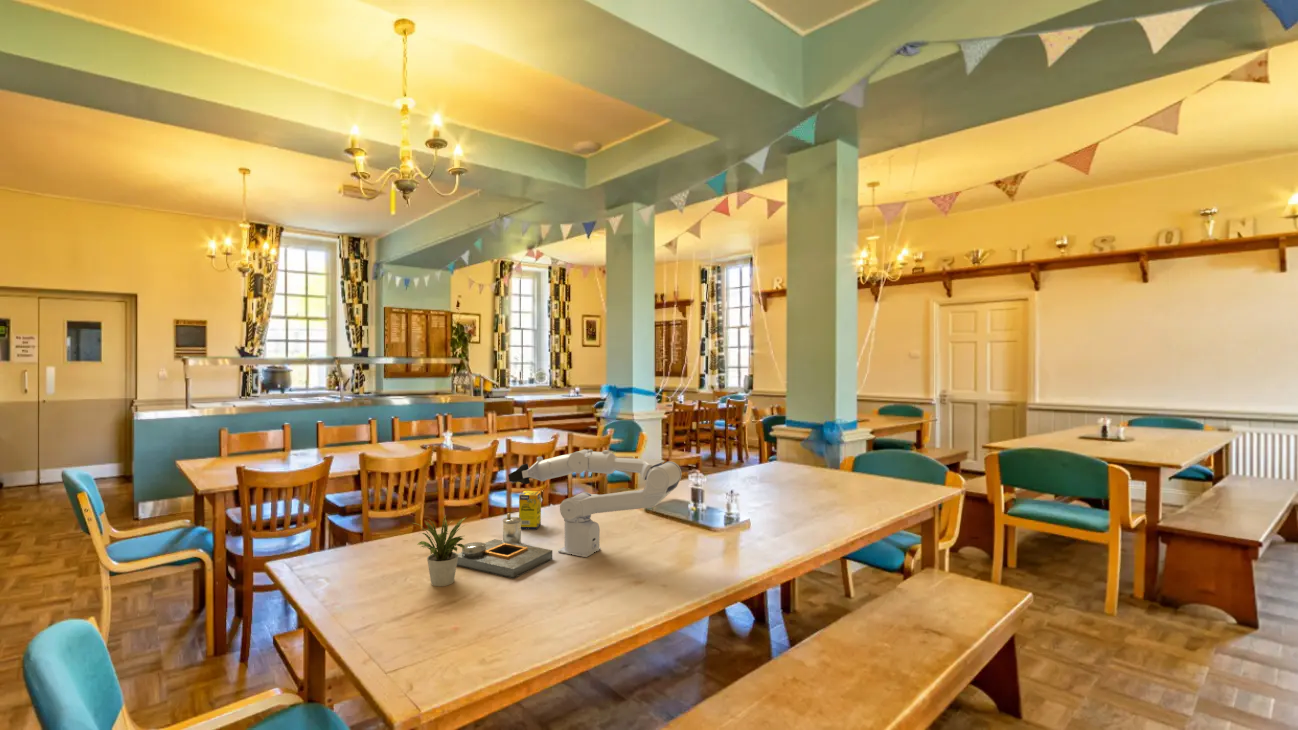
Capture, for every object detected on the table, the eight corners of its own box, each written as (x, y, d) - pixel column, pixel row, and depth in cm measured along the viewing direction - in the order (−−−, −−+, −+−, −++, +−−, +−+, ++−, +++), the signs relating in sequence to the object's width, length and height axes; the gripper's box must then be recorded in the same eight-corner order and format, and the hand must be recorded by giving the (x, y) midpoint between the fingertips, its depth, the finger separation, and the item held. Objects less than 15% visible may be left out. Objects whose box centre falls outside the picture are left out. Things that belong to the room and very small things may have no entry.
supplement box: (537, 529, 185) (537, 495, 184) (518, 529, 185) (518, 494, 185) (541, 524, 191) (541, 490, 190) (522, 524, 191) (523, 490, 191)
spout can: (524, 542, 172) (525, 513, 172) (513, 547, 167) (513, 517, 167) (510, 539, 174) (511, 511, 174) (498, 544, 170) (499, 515, 169)
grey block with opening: (552, 559, 158) (552, 542, 158) (513, 578, 144) (513, 560, 144) (494, 547, 167) (494, 532, 167) (452, 564, 153) (452, 548, 153)
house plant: (400, 597, 132) (401, 525, 131) (408, 575, 145) (409, 509, 145) (467, 592, 136) (467, 521, 135) (469, 570, 149) (469, 506, 149)
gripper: (566, 451, 175) (530, 460, 181) (537, 456, 162) (499, 465, 167) (571, 474, 174) (534, 482, 180) (542, 481, 161) (504, 490, 166)
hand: (517, 476), depth 173 cm, fingers open, 7 cm apart
